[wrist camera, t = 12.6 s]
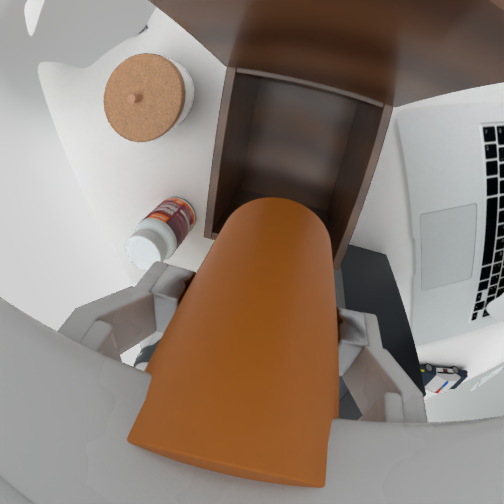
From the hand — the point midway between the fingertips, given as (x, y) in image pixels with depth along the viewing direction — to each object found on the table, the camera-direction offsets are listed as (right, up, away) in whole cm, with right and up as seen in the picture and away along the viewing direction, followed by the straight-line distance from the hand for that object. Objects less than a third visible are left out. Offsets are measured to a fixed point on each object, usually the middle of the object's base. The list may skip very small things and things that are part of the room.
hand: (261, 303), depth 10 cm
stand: (+15, -1, +32) cm, 36 cm away
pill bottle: (-12, +8, +33) cm, 36 cm away
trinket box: (-11, +23, +23) cm, 35 cm away
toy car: (+43, -26, +42) cm, 65 cm away
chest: (+5, +15, +24) cm, 29 cm away
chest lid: (+3, +11, +1) cm, 12 cm away
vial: (+1, +2, +3) cm, 4 cm away
